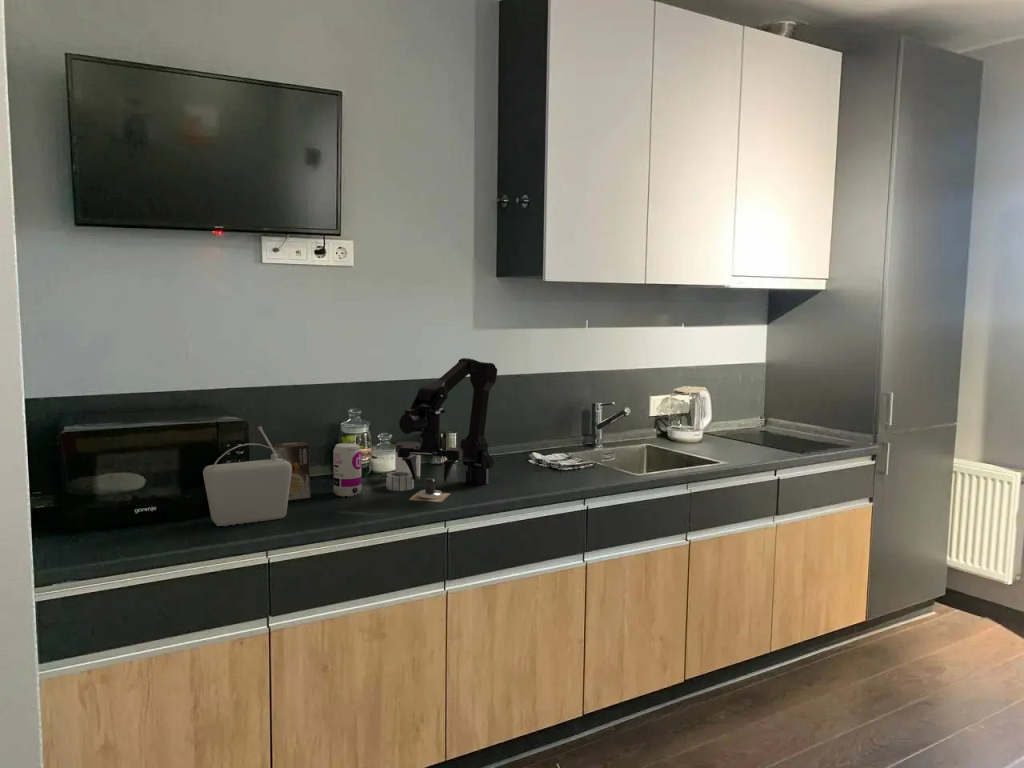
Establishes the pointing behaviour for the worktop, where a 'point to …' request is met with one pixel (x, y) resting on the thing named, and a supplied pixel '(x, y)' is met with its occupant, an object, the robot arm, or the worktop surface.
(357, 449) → the supplement can
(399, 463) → the jar
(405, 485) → the pot
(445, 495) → the plate
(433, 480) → the lid
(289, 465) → the radio
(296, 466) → the coffee box
